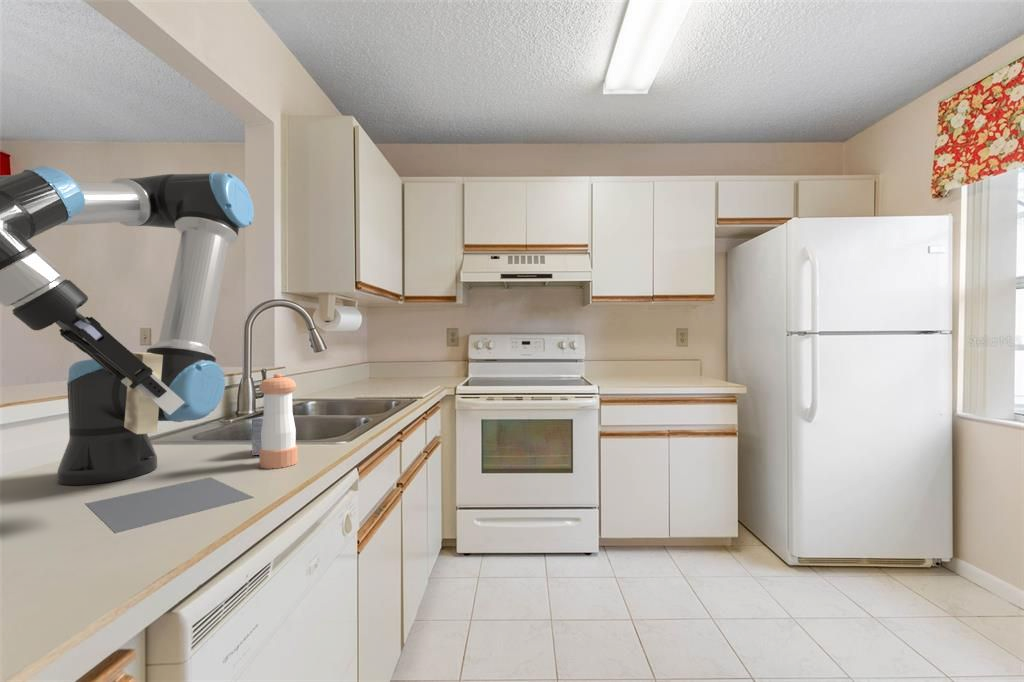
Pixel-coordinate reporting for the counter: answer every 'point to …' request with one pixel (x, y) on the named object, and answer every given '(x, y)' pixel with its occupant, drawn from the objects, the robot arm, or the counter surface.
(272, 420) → the salt shaker
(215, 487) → the mat
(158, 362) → the birch block
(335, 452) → the counter surface
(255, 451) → the medicine box
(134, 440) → the robot arm
